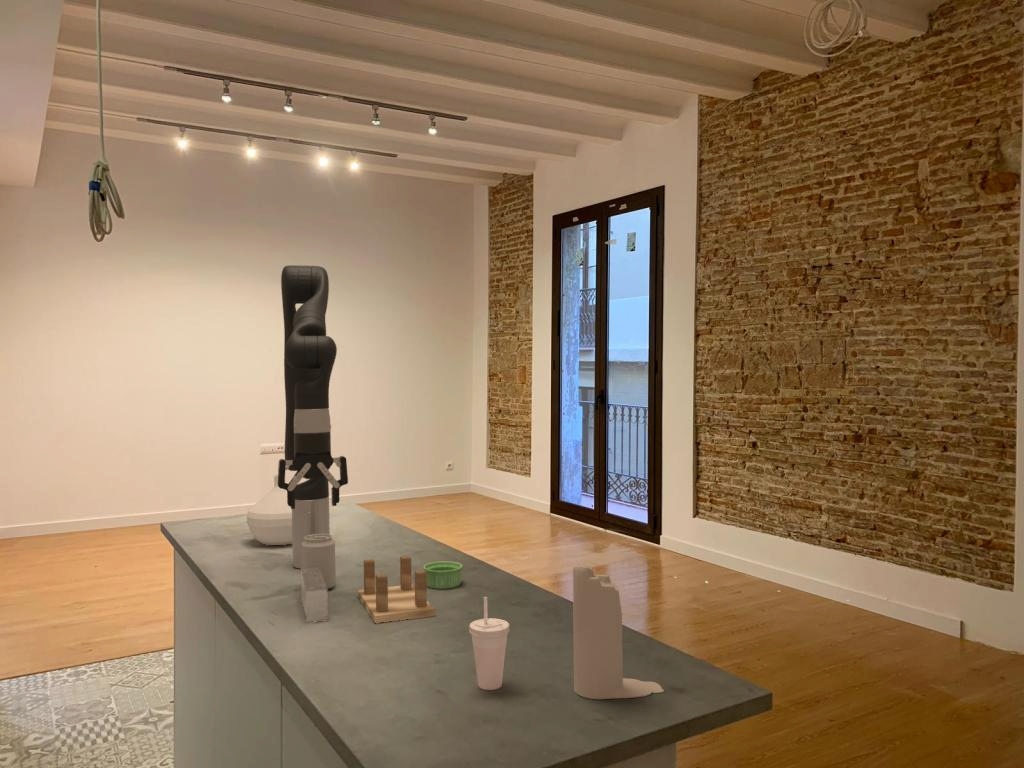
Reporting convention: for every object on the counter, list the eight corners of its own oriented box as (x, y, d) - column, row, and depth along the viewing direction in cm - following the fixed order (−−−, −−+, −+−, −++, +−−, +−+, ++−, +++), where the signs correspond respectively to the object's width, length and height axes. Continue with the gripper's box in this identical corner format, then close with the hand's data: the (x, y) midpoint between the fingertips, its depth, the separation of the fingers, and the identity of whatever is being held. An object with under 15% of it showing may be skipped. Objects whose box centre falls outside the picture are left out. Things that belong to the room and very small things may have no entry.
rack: (357, 597, 174) (357, 558, 173) (411, 590, 178) (411, 553, 178) (375, 623, 156) (374, 580, 156) (434, 616, 160) (433, 574, 160)
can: (327, 593, 177) (326, 540, 176) (296, 592, 178) (295, 538, 178) (341, 584, 184) (340, 532, 184) (310, 582, 185) (310, 531, 185)
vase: (327, 539, 231) (326, 473, 230) (277, 552, 215) (276, 482, 215) (283, 532, 241) (282, 469, 240) (233, 544, 225) (231, 477, 225)
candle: (668, 696, 121) (667, 566, 120) (578, 700, 120) (577, 568, 119) (656, 678, 128) (655, 554, 127) (570, 681, 127) (569, 557, 126)
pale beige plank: (301, 598, 174) (300, 569, 174) (319, 596, 175) (319, 567, 175) (306, 624, 157) (306, 591, 157) (327, 621, 158) (327, 589, 158)
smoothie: (469, 677, 129) (468, 592, 128) (508, 676, 129) (507, 590, 129) (470, 694, 122) (469, 604, 122) (512, 692, 123) (511, 602, 123)
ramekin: (470, 584, 183) (470, 565, 183) (441, 592, 177) (441, 573, 177) (444, 577, 190) (444, 559, 189) (415, 585, 183) (415, 566, 183)
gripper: (343, 428, 174) (344, 502, 174) (275, 430, 169) (276, 507, 169) (349, 430, 167) (350, 507, 167) (278, 432, 162) (280, 512, 162)
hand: (313, 507), depth 168 cm, fingers open, 8 cm apart
